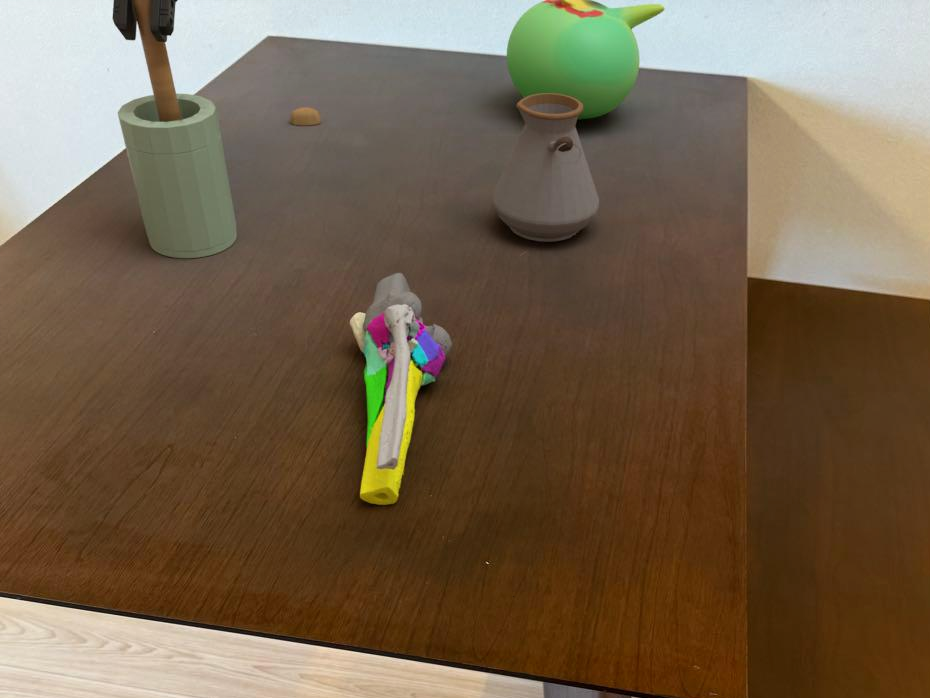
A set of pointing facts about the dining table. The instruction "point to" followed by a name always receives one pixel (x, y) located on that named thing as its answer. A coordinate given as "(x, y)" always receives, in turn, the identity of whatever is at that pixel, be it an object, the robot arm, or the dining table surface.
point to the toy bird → (578, 52)
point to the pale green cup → (180, 176)
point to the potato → (305, 116)
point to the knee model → (394, 380)
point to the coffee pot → (547, 173)
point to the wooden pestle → (157, 65)
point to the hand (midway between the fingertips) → (142, 35)
